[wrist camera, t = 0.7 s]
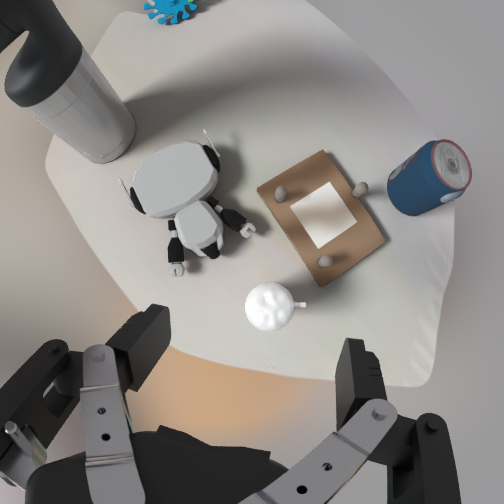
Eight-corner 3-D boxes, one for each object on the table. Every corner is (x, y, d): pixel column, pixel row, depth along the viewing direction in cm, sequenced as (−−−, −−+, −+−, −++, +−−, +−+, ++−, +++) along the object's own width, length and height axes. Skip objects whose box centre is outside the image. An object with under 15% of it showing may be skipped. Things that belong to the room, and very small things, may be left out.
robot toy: (261, 234, 37) (206, 137, 37) (264, 230, 33) (202, 122, 33) (176, 282, 37) (127, 182, 37) (167, 284, 32) (113, 173, 32)
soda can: (425, 221, 36) (478, 200, 24) (383, 214, 36) (430, 188, 24) (423, 174, 37) (470, 143, 25) (382, 165, 37) (423, 127, 25)
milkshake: (293, 317, 35) (308, 330, 25) (248, 321, 35) (247, 336, 25) (290, 279, 36) (303, 279, 26) (245, 283, 36) (242, 285, 26)
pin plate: (257, 191, 37) (257, 179, 32) (324, 151, 37) (331, 136, 33) (320, 286, 35) (329, 287, 31) (384, 240, 36) (399, 235, 31)
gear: (146, 29, 38) (140, -16, 32) (148, 32, 43) (142, -9, 36) (208, 17, 40) (202, -27, 34) (203, 21, 44) (198, -19, 38)
